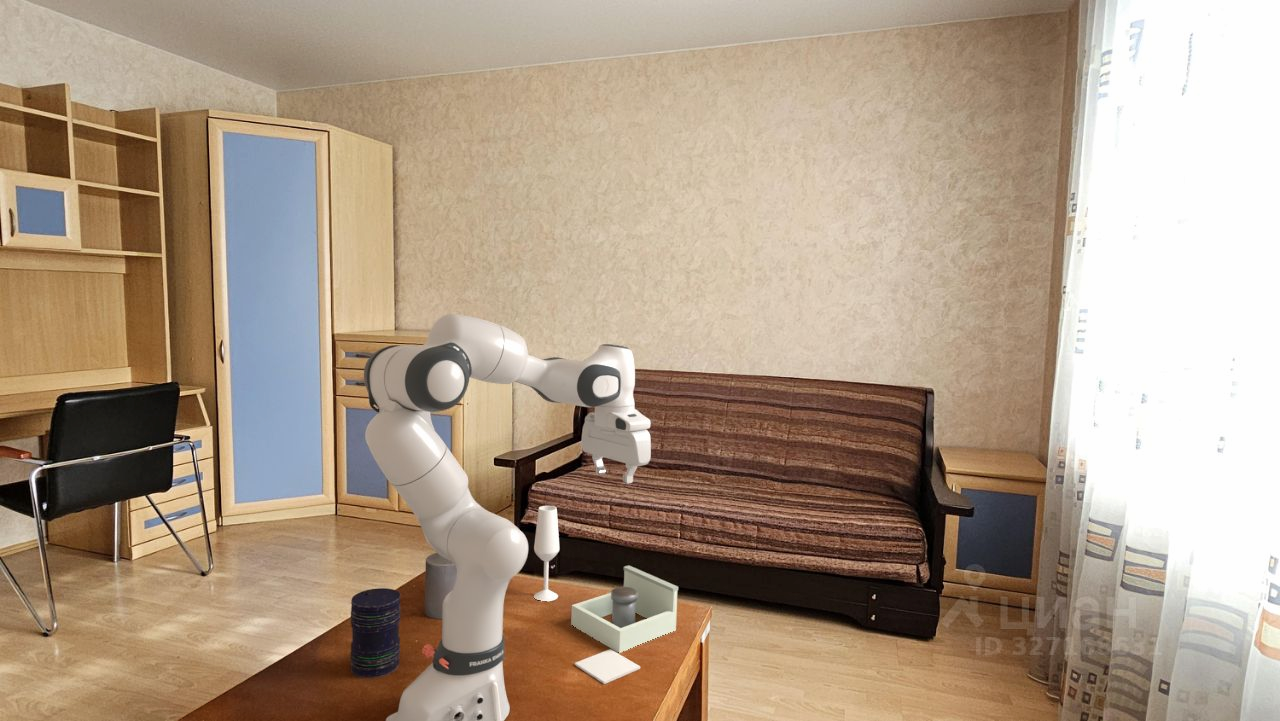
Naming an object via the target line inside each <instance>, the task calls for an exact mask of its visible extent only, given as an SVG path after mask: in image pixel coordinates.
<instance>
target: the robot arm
mask: <svg viewBox="0 0 1280 721" xmlns="http://www.w3.org/2000/svg"><path fill="white" fill-rule="evenodd" d="M634 358H635V357H634V355H633V352H632V349H630V348H628V347H626V346H623V345H617V344H611V343H610V344H608V343H604V344H600V345H598V348H597V350H596V351H595V352H594V353H593V354H592V355H590V356H589V357H587V358H585V359H583V360H577V359H569V358H568V359H567V358H563V357H559V356H557V357H556V356H553V357H548V358H547V357H546V358H543V359H542V358H541V359H540V358H538V357H536V356H533V355H530V354H529V352H528V346H527V342H526V339H525V338H524V337H523V336H521V335H520V334H519V333H517V332H516V331H514V330H512V329H510V328H508V327H506V326H504V325H502V324H498V323H495V322H492V321H490V320H487V319H484V318H483V319H482V318H479V317H476V316H472V315H471V316H470V315H465V314H458V313H449V314H445V315H443V316H441V317H439V318H438V319H437V320H436V321H435V322H434V323H433V325H432V326H431V328H430V330H429V333H428V335H427V341H426V342H424V344H422V345H418V344H405V345H397V344H395V345H389V346H386V347H383V348H381V349H378V350H377V351H375V352H373V354H372V355H371V356H370V357H369V358H368V359H367V361H366V363H365V366H364V370H363V381H364V386H365V389H366V390H367V393H368V402H369V403H368V404H369V406H370V408H371V409H372V410H374V411H375V412H377V413H376V415H374V417H372V418H371V420H370V421H369V423H368V425H367V426H366V428H365V429H366V430H365V432H364V433H365V434H364V435H365V436H364V438H365V441H366V444H367V445H366V446H368V448H369V451H370V453H371V455H372V456H373V459H374V460H375V462H376V464H377V466H378V467H379V469H380V471H381V472H382V473H383V475H384V476H385V478H386V479H387V481H388V482H389V483H390V484H391V485H392V487H393V489H394V490H395V491H396V492H397V493H398V494H399V496H400V497H401V499H403V501H404V502H405V504H406V505H407V506H408V507H409V509H410V510H411V511H412V513H413V514H414V516H415V517H416V519H417V521H418V523H419V525H420V527H421V529H422V531H423V534H424V535H423V536H424V537H425V540H426V541H427V543H428V545H430V547H431V548H432V549H433V551H434V552H435V553H438V554H439V555H440V556H442V557H443V558H445V559H447V560H449V561H451V562H452V563H454V564H455V565H456V568H457V578H456V582H455V586H454V589H453V590H452V591H451V592H450V593H448V594H447V596H446V597H445V599H444V601H443V613H442V619H441V620H442V622H441V623H442V624H441V625H442V626H441V627H442V630H441V632H442V633H441V639H440V641H439V643H438V645H437V649H436V648H435V647H433V645H432V644H431V643H427V644H425V645H424V646H423V647H422V649H421V652H422V653H421V654H423V656H425V657H426V658H427V659H432V658H433V659H432V662H431V664H429V665H428V666H427V667H426V668H425V669H424V671H422V672H421V673H420V674H419V675H418V676H417V677H416V678H415V679H414V680H413V681H412V682H411V683H410V684H409V685H408V686H407V687H406V688H405V689H404V690H403V692H402V693H401V696H400V700H399V704H398V710H397V711H396V712H394V713H392V714H390V715H388V716H387V717H386V719H385V721H505V720H506V718H508V716H509V714H510V709H511V708H510V702H509V700H508V697H507V692H506V687H505V686H506V685H505V679H504V667H503V663H504V659H505V651H506V650H505V649H506V647H505V645H506V644H505V635H504V634H503V628H504V626H503V624H504V623H503V622H504V603H505V602H504V601H505V597H506V592H507V589H508V586H509V583H510V581H511V579H512V578H514V577H515V576H516V575H517V574H518V573H520V571H521V570H522V569H523V567H524V565H525V564H526V561H527V559H528V554H529V542H528V539H527V537H526V534H524V532H523V531H521V530H520V528H519V527H518V526H516V525H515V524H514V523H513V522H512V521H511V520H509V519H507V518H506V517H503V516H500V515H498V514H495V513H493V512H490V511H489V510H487V509H486V508H484V507H482V505H481V504H480V505H481V506H480V505H479V504H478V503H479V502H477V501H476V500H475V499H474V497H473V495H472V494H471V491H470V488H469V477H468V473H466V472H465V470H464V469H463V468H462V466H461V465H460V463H459V462H458V460H457V459H456V457H455V456H454V455H453V453H452V452H451V450H450V449H449V447H448V446H447V445H446V443H445V442H444V441H443V439H442V438H441V437H440V435H439V434H438V433H437V431H436V429H435V427H434V425H433V422H432V417H431V413H437V412H443V411H446V410H449V409H452V408H454V407H455V406H457V405H458V404H459V403H460V401H461V400H463V398H464V396H465V394H466V392H467V390H468V386H469V383H470V378H471V379H474V380H476V381H477V380H478V381H481V382H486V383H491V384H496V385H497V384H500V385H510V384H513V383H514V382H515V383H518V384H521V385H524V386H526V387H529V388H531V389H533V390H534V391H535V392H536V393H537V394H538V395H539V397H541V398H542V399H543V400H545V401H546V402H550V403H554V404H555V403H557V404H567V405H573V406H578V407H584V408H594V412H589V413H588V414H587V415H586V416H585V418H584V423H583V426H582V432H581V442H580V443H581V444H580V446H581V449H582V451H583V452H584V453H588V454H591V458H592V462H593V464H594V467H595V474H597V475H600V476H602V475H605V474H606V470H607V468H606V466H605V465H604V462H603V458H605V459H608V460H613V461H616V462H620V463H624V464H625V468H626V469H627V470H626V472H625V473H623V474H622V482H623V483H625V484H632V483H633V482H634V475H635V473H636V470H637V468H638V467H641V466H645V465H648V464H649V463H650V461H651V458H652V457H651V454H652V453H651V452H652V451H651V450H652V445H651V444H652V443H651V442H652V441H651V434H650V432H649V431H648V429H650V428H651V420H650V419H649V418H648V417H646V416H645V415H643V414H642V413H641V412H640V411H639V410H637V409H636V408H635V407H636V406H635V404H636V403H635V399H634V390H635V386H636V368H635V367H636V366H635V359H634ZM375 406H376V407H375Z"/></svg>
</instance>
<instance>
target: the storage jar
mask: <svg viewBox="0 0 1280 721" xmlns="http://www.w3.org/2000/svg"><path fill="white" fill-rule="evenodd" d="M350 604H351V606H350V607H351V609H350V626H351V628H352V631H351V632H352V633H351V634H352V635H351V637H352V639H351V643H350V655H349V656H350V663H351V664H350V665H351V666H350V672H351V673H352V675H354V676H355V677H358V678H364V679H365V678H366V679H373V678H379V677H383V676H386V675H389V674H392V673H393V672H394V671H395V670H397V669H398V668H399V666H400V655H401V654H400V653H401V638H400V635H399V633H400V632H399V631H400V630H399V629H400V626H399V624H400V621H401V593H400V592H399V591H398V590H395V589H394V588H393V589H392V588H386V587H385V588H384V587H382V588H381V587H379V588H378V587H377V588H371V589H367V590H363V591H359V592H358V593H356V594H354V595H353V596H352V597H351V602H350Z"/></svg>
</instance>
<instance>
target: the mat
mask: <svg viewBox="0 0 1280 721" xmlns="http://www.w3.org/2000/svg"><path fill="white" fill-rule="evenodd" d="M574 666H576V667H577V668H579V669H581V670H582V671H584V673H586V674H588V675H589V676H590V677H592V678H594V679H596V680H598V681H599V682H600V683H602V684H603V685H605V684H608V683H610V682H613V681H615V680H617V679H619V678H622V677H624V676H626V675H630V674H631V673H633V672H636V671H638V670H640V669H641V666H640V665H638V664H637V663H635V662H633V661H632V660H630V659H628V658H626V657H625V656H623V655H621V653H618V652H616V651H615V650H613V649H611V648H609V649H607V650H604V651H602V652H599V653H597V654H594V655H591V656H589V657H586V658H584V659H581V660H579V661H576V662H574Z"/></svg>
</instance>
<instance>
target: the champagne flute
mask: <svg viewBox="0 0 1280 721" xmlns="http://www.w3.org/2000/svg"><path fill="white" fill-rule="evenodd" d="M559 536H560V534H559V521H558V510H557V506H554V505H542V506H539V507H538V511H537V521H536V529H535V536H534V537H535V538H534V543H533V544H534V546H533V549H534V550H533V551H534V553H535V555H536V556H537V557H538V558H539V559H540V560H541V561H543V589H542V590H540V591H537V592H536V593H534V594H535V595H534V594H533V595H534V598H535V599H537V600H541V601H540V602H542V601H547V602H552V601H556V600H557V599H559V598H558V597H559V595H558V593H556V592H554V591H552V590H550V589H549V570H550V569H549V568H550V566H549V564H550V563H549V562H550V561H552V560H553V559H554V558H555V557H556V556H557V555H558V553H559V552H560V549H561V548H560V537H559ZM534 598H533V599H534ZM535 599H534V600H535ZM537 600H536V601H537Z"/></svg>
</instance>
